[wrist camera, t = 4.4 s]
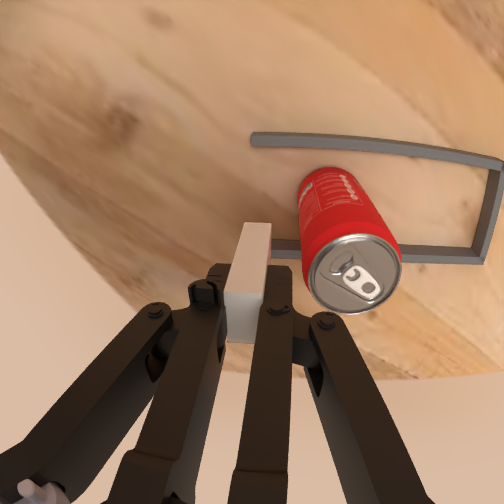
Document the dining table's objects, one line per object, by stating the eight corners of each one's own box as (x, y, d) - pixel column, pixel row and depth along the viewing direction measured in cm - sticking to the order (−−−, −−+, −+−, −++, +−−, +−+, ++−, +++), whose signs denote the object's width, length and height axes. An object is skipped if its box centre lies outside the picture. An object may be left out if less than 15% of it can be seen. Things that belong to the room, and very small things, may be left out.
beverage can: (327, 150, 24) (358, 206, 13) (372, 193, 25) (424, 273, 14) (284, 197, 26) (280, 282, 15) (330, 235, 27) (351, 333, 17)
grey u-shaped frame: (255, 247, 28) (253, 257, 27) (253, 132, 23) (251, 135, 22) (475, 255, 26) (483, 264, 25) (497, 158, 21) (508, 163, 20)
